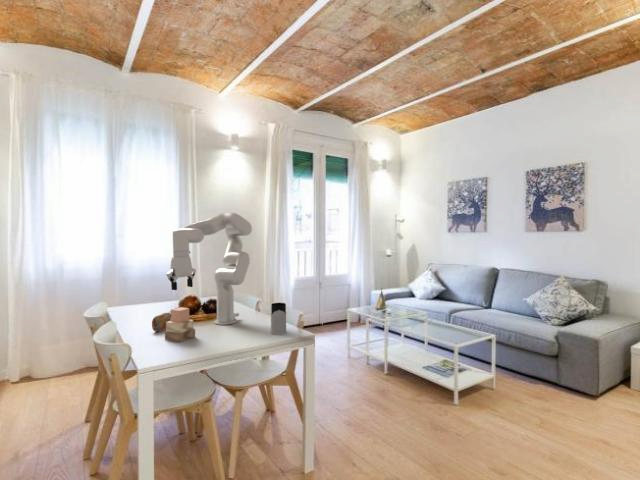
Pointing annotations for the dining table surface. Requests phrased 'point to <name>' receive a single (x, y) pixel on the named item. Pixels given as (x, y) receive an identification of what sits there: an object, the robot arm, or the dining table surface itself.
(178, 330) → the top block
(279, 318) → the glass holder
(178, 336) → the base block
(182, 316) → the cube
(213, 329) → the dining table surface
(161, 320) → the brown rounded slab
